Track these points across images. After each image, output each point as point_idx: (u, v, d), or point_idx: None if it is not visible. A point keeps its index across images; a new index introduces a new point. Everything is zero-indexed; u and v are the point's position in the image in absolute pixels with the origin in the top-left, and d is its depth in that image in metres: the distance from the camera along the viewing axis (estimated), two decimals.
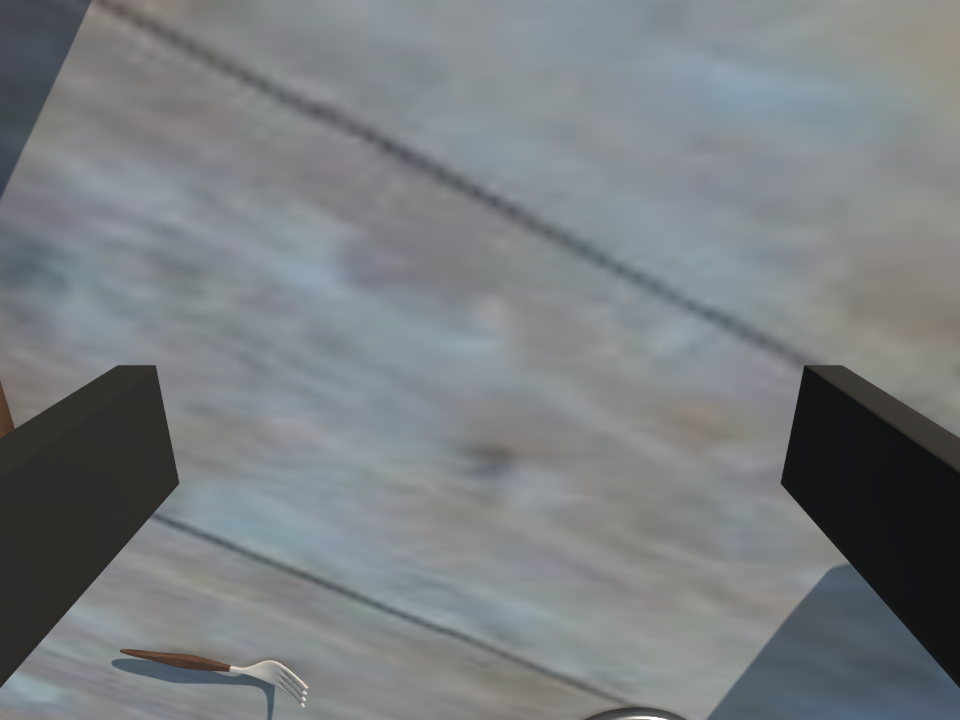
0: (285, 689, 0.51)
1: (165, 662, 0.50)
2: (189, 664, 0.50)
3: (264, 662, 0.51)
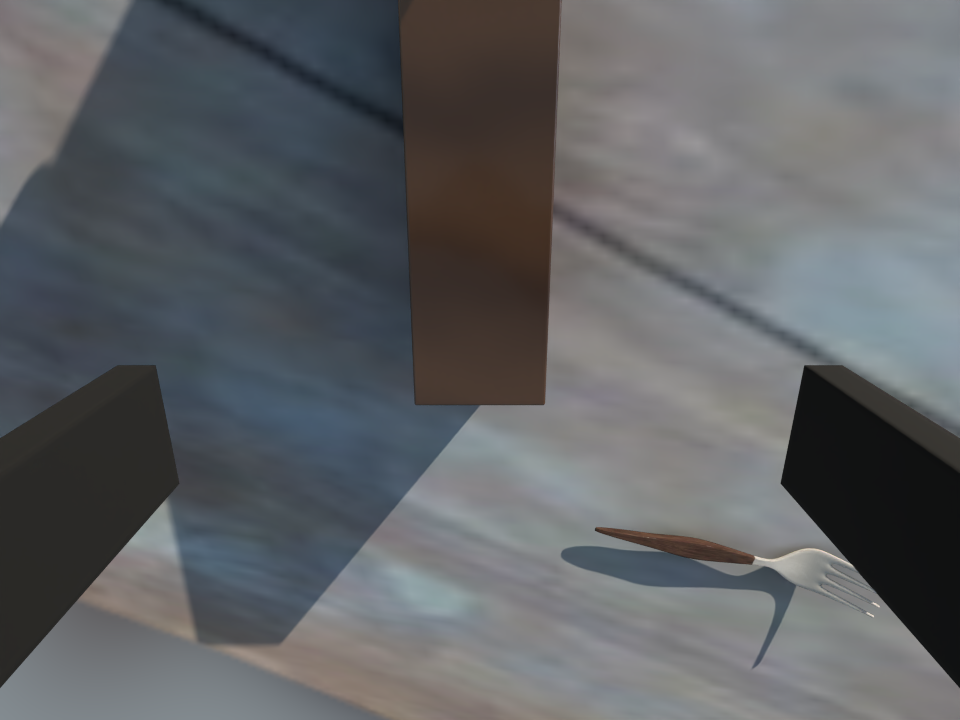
0: (829, 593, 0.33)
1: (662, 548, 0.32)
2: (697, 551, 0.32)
3: (802, 551, 0.33)
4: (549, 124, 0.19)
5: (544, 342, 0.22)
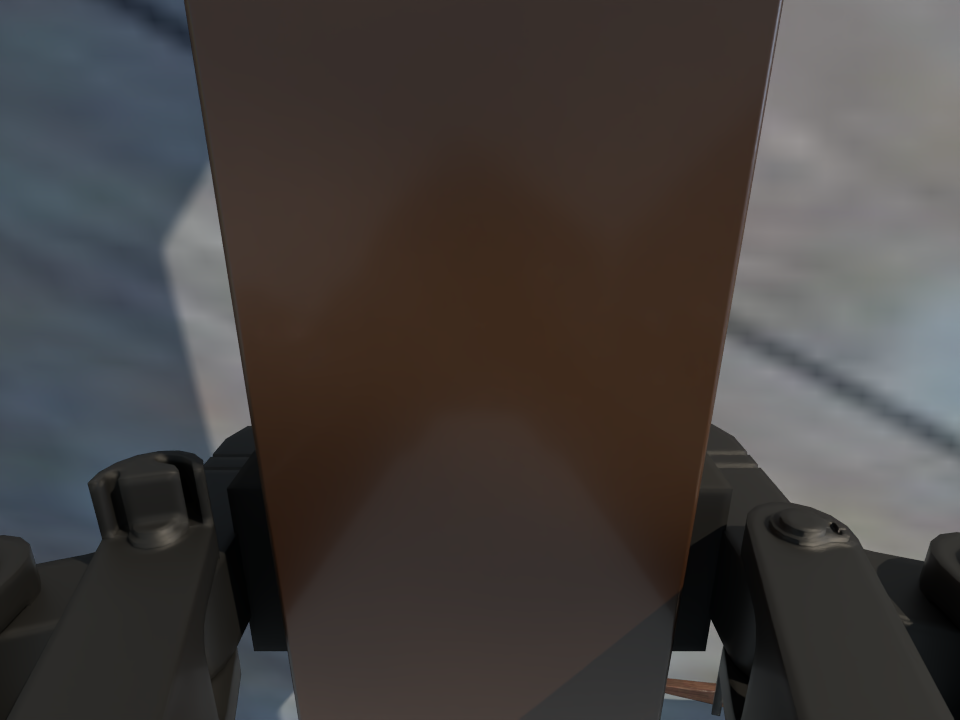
0: None
1: None
2: None
3: None
4: (747, 73, 0.05)
5: (656, 694, 0.08)
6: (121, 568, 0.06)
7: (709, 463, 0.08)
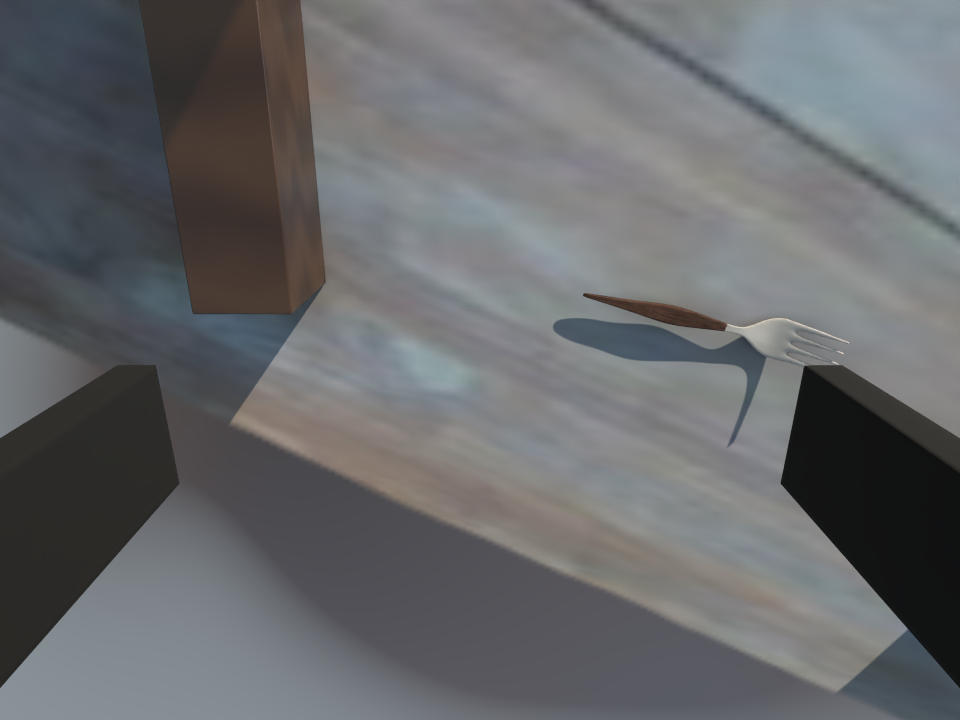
0: (795, 359, 0.37)
1: (643, 312, 0.36)
2: (675, 316, 0.36)
3: (770, 320, 0.37)
4: (262, 96, 0.26)
5: (283, 263, 0.29)
6: None
7: None
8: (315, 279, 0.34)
